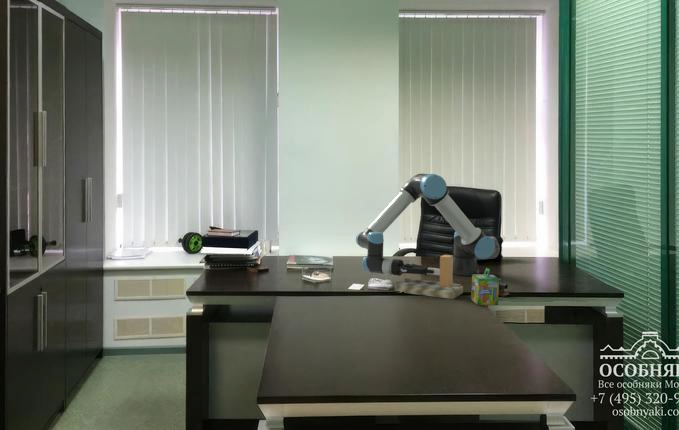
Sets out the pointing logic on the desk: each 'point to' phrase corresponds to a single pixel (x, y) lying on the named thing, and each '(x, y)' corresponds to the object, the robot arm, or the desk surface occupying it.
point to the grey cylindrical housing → (497, 249)
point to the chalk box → (485, 289)
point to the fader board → (428, 288)
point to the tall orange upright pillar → (446, 271)
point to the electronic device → (502, 289)
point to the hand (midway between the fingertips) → (441, 272)
